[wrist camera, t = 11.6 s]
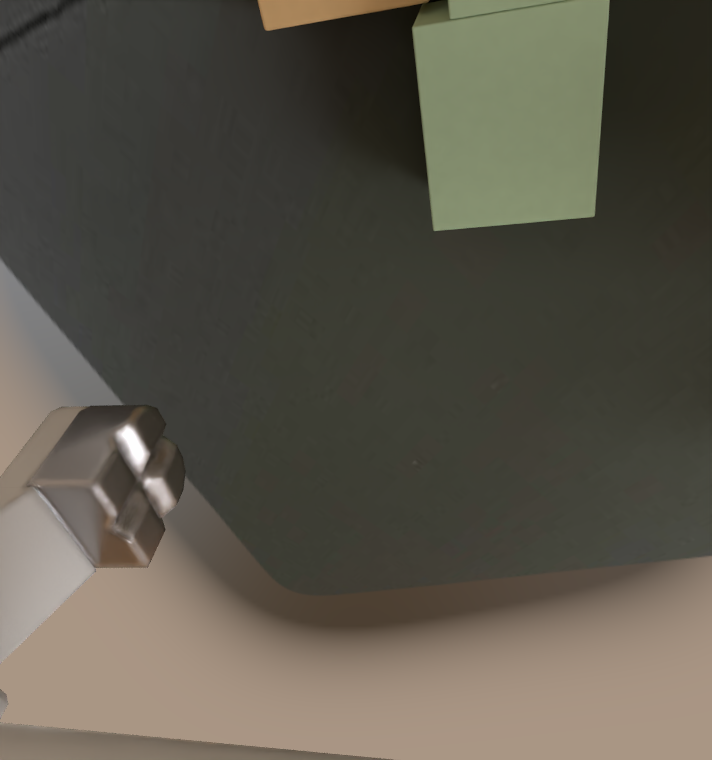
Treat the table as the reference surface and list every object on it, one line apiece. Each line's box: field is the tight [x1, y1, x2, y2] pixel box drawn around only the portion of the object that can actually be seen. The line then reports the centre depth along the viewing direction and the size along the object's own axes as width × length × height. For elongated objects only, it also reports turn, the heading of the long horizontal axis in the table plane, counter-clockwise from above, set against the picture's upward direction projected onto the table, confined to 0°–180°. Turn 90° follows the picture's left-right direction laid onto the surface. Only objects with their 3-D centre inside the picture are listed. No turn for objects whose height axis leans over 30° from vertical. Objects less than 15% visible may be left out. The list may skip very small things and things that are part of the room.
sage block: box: [412, 0, 610, 231], centre depth 18 cm, size 5×8×4 cm, turn 10°
